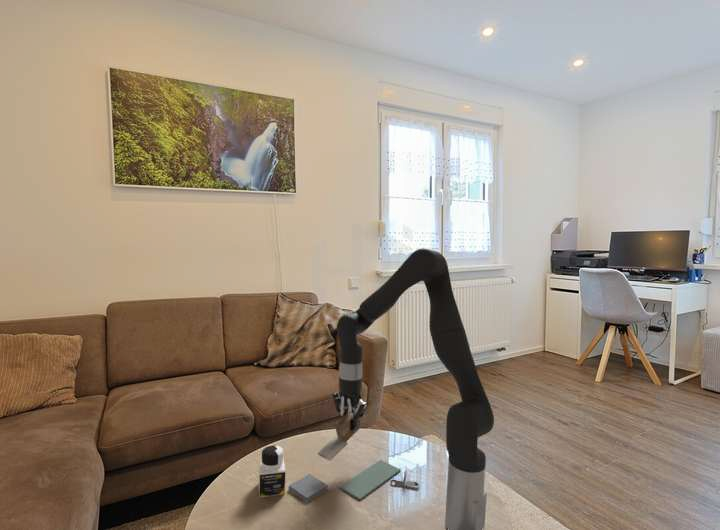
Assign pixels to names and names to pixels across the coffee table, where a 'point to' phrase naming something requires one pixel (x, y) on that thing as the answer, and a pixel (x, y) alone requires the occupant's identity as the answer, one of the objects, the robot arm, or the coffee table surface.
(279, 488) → the medicine bottle
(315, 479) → the tile
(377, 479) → the mat
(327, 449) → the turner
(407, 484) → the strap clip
